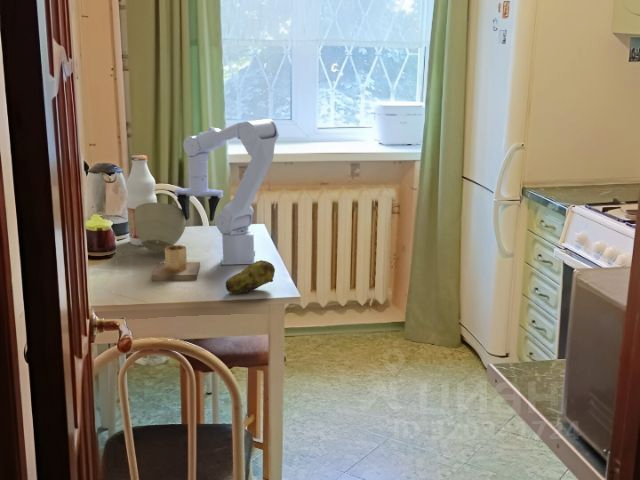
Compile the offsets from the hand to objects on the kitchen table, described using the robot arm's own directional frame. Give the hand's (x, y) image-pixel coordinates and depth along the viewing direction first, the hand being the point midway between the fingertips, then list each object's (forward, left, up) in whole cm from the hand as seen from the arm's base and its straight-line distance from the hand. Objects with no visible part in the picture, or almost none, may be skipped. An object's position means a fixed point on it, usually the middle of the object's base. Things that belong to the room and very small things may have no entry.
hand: (199, 219), depth 238 cm
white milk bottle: (+19, -14, -11) cm, 26 cm away
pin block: (+5, +21, -11) cm, 24 cm away
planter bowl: (+13, +2, -8) cm, 15 cm away
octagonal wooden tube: (+5, +21, -9) cm, 23 cm away
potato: (-16, +38, -11) cm, 42 cm away
